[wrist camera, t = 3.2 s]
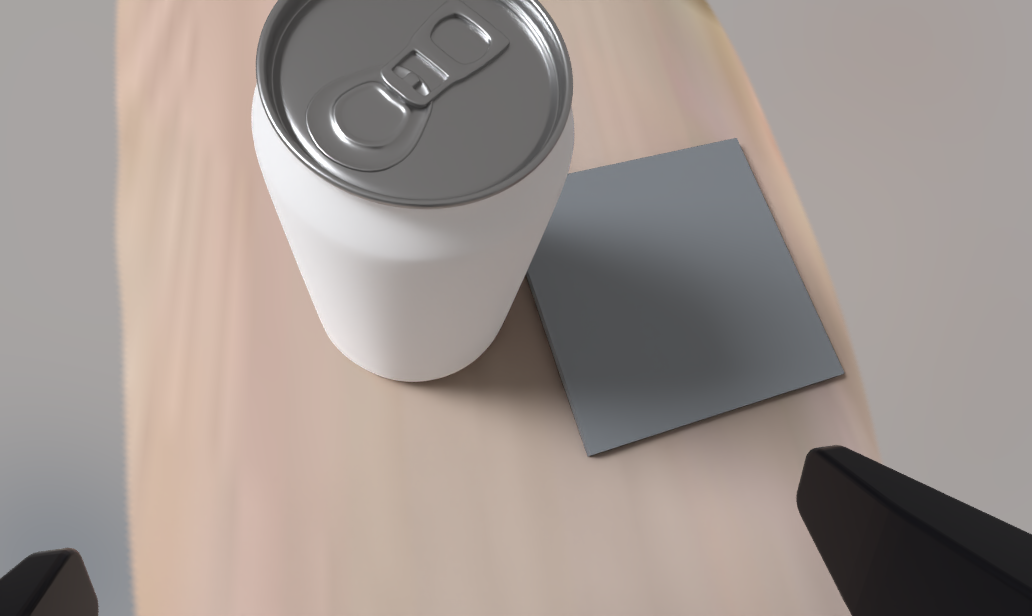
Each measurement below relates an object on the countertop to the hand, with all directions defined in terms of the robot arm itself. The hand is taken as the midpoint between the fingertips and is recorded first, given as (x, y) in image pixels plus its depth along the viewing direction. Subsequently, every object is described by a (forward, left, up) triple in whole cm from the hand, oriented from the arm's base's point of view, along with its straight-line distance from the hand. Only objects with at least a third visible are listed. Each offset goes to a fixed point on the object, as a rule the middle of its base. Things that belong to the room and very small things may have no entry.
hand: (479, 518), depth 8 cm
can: (+8, -1, -14) cm, 16 cm away
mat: (+6, -10, -13) cm, 18 cm away
